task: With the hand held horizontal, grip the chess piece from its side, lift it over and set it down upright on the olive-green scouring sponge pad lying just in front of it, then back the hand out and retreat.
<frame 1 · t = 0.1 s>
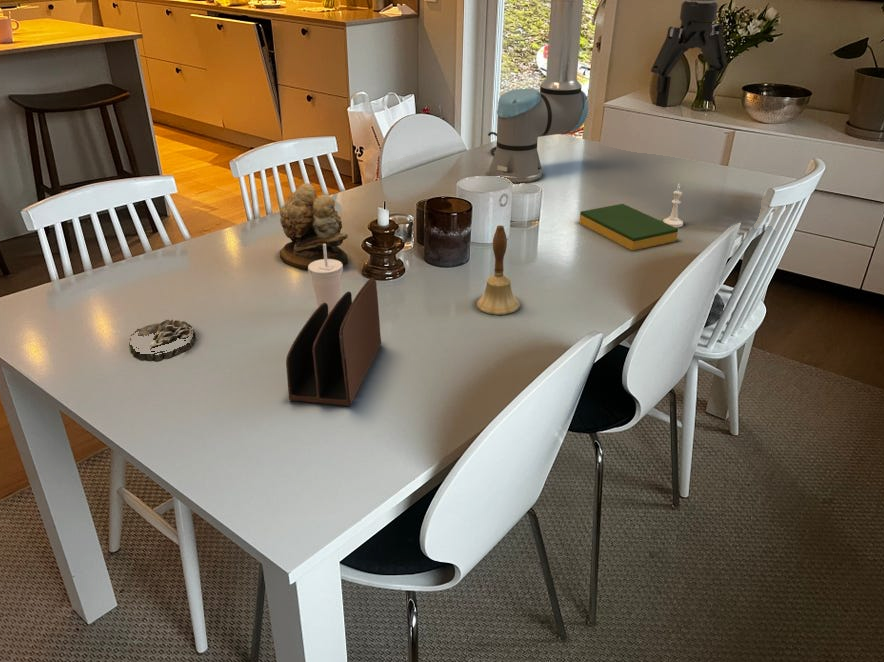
hand: (684, 103, 171), 28 cm above the table, tool pointing down, fingers open, 13 cm apart
hand bell: (498, 306, 144), on the table
smoothie: (329, 313, 142), on the table
letter holder: (338, 372, 123), on the table
owl figurine: (315, 260, 164), on the table
sponge pad: (626, 231, 178), on the table
chess piece: (672, 224, 183), on the table
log: (163, 344, 131), on the table
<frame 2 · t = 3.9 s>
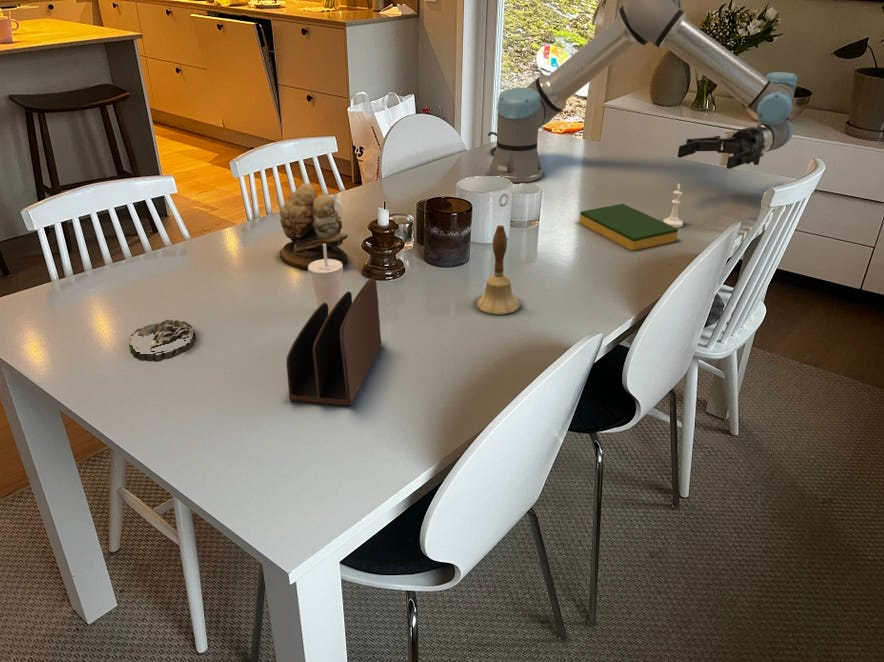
hand: (703, 157, 181), 15 cm above the table, tool horizontal, fingers open, 13 cm apart
nothing on the table moved.
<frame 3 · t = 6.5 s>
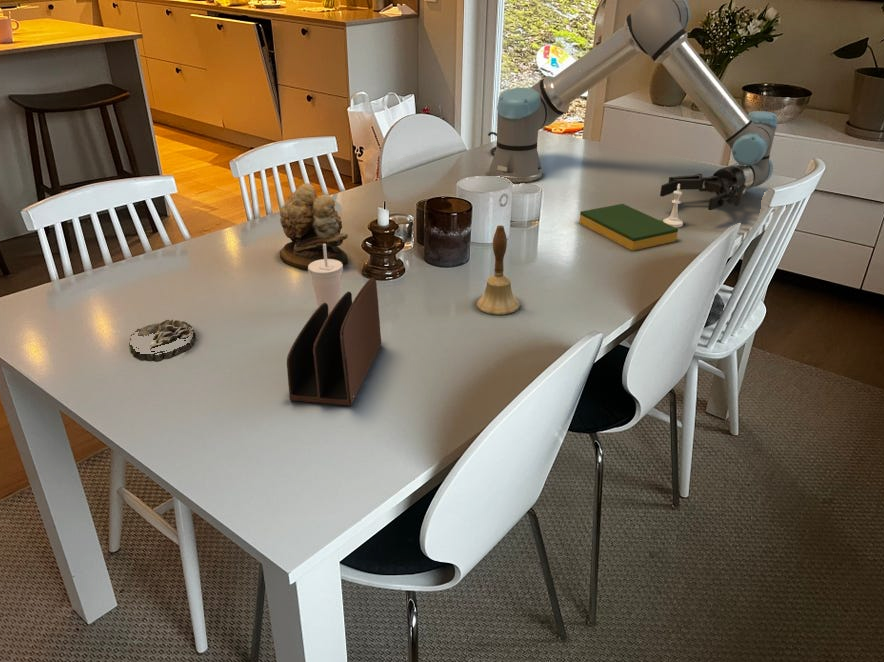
hand: (685, 197, 182), 6 cm above the table, tool horizontal, fingers open, 13 cm apart
nothing on the table moved.
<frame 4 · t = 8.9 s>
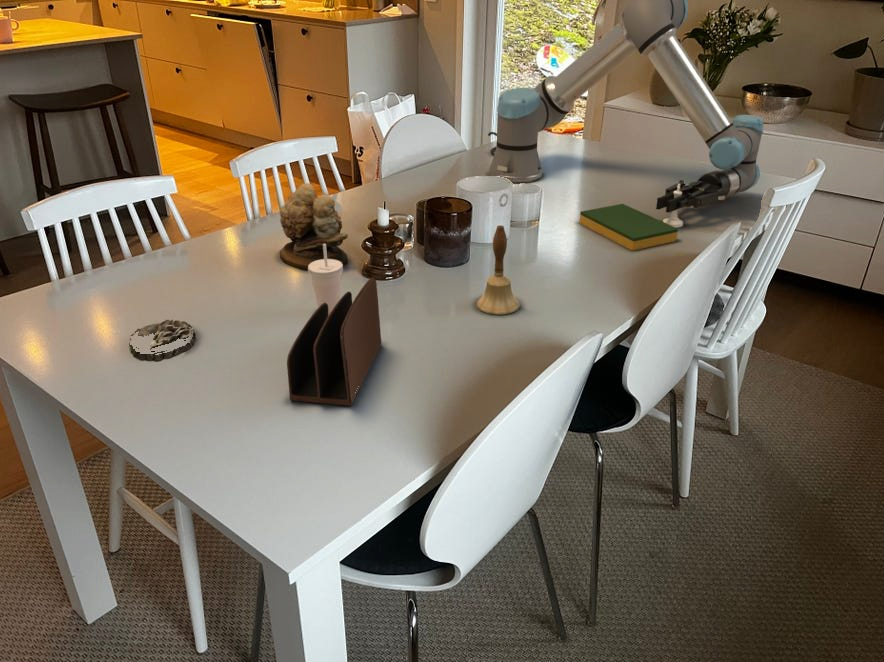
hand: (663, 205, 177), 6 cm above the table, tool horizontal, fingers closed on chess piece, 2 cm apart
chess piece: (672, 224, 183), on the table, touching gripper
everything else where it was.
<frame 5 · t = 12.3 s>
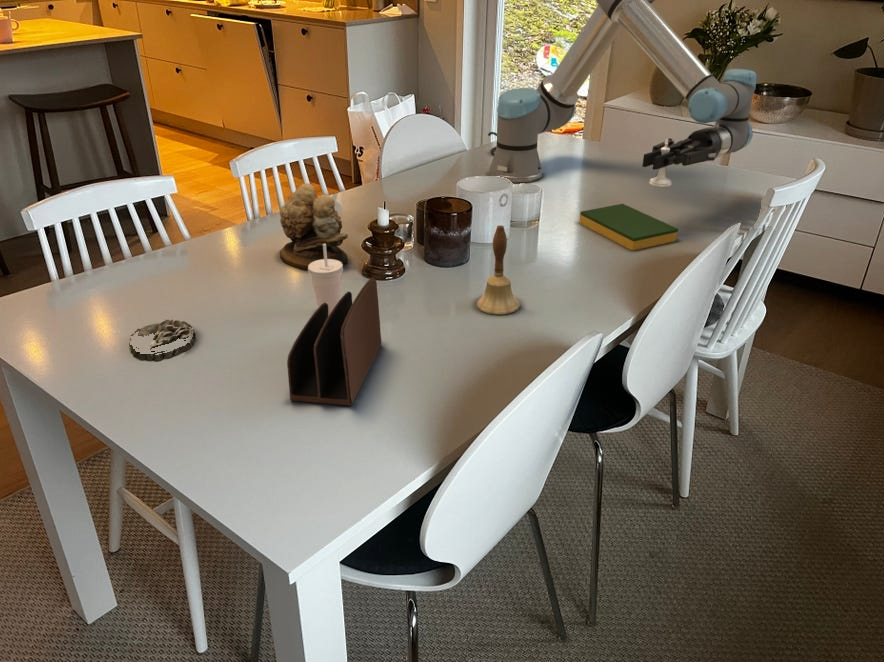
hand: (649, 162, 166), 18 cm above the table, tool horizontal, fingers closed on chess piece, 2 cm apart
chess piece: (660, 184, 172), point 12 cm above the table, touching gripper
everything else where it was.
when the fingers open (9 cm above the table, at t = 15.6 s): chess piece stays where it is, resting on sponge pad.
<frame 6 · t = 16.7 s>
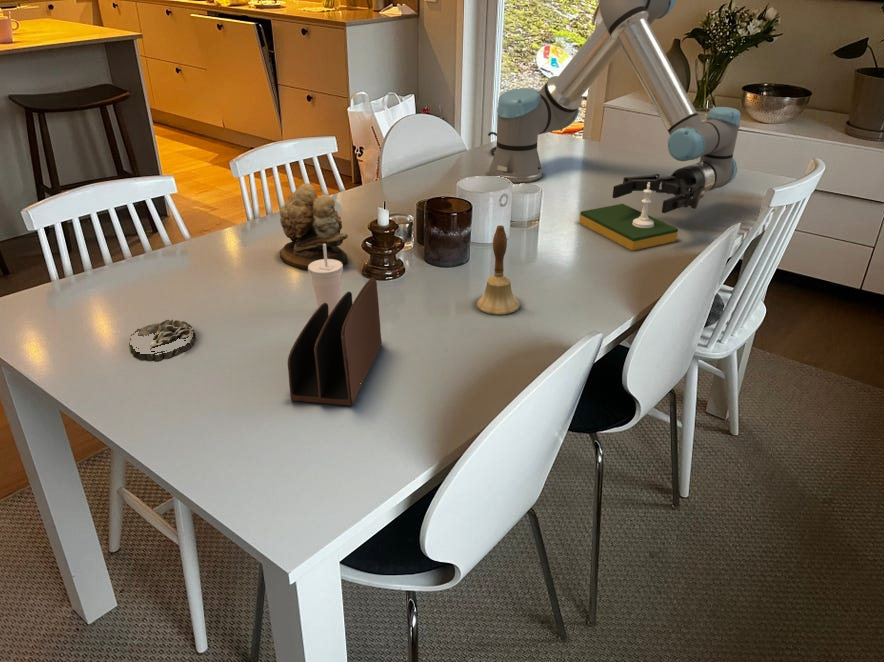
hand: (638, 199, 169), 10 cm above the table, tool horizontal, fingers open, 13 cm apart
chess piece: (642, 225, 174), point 3 cm above the table, touching sponge pad
everything else where it was.
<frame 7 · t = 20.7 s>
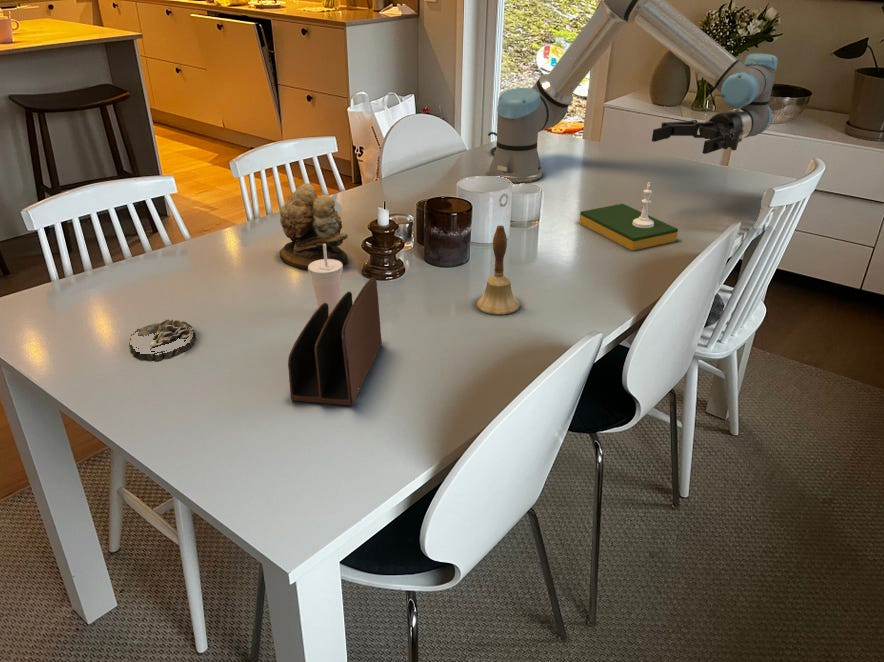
hand: (678, 141, 171), 21 cm above the table, tool horizontal, fingers open, 13 cm apart
nothing on the table moved.
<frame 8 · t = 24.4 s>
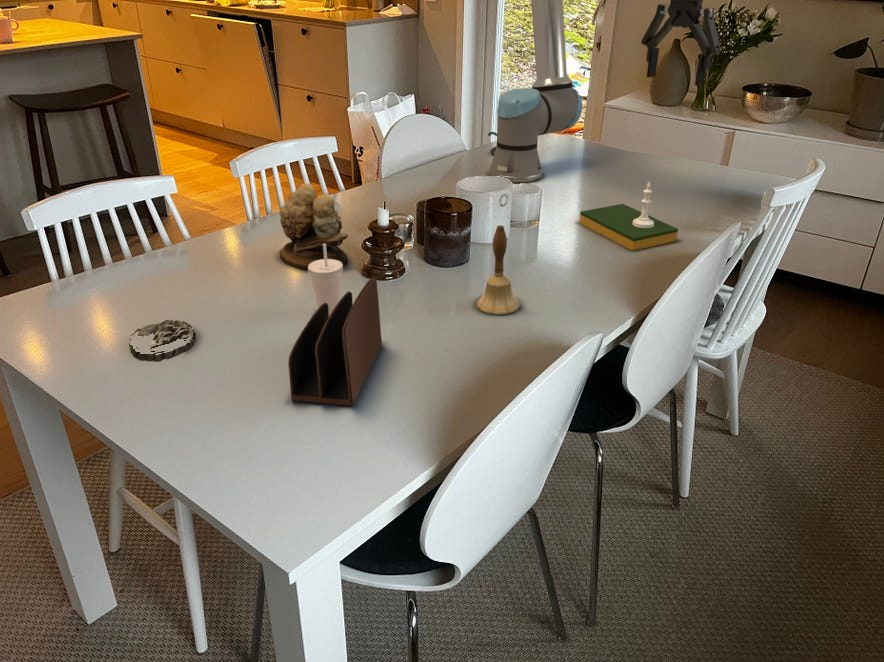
hand: (674, 80, 181), 31 cm above the table, tool pointing down, fingers open, 13 cm apart
nothing on the table moved.
at the end: chess piece inside the target area on the sponge pad (4.2 cm from its centre), point 2.8 cm above the sponge pad's base; chess piece tilted 0°; the gripper is holding nothing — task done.
